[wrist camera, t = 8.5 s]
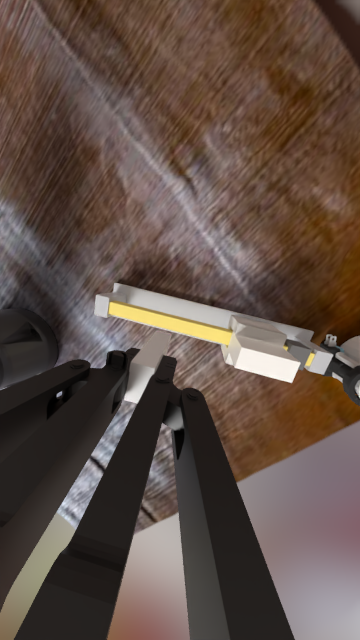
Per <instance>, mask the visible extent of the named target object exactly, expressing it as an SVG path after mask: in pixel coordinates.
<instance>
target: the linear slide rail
mask: <svg viewBox="0 0 360 640" xmlns="http://www.w3.org/2000/svg"><path fill="white" fill-rule="evenodd" d="M115 300H116V301H120V302H124V303H128V304H132V305H136V306H140V307H144V308H148V309H151V310H155V311H159V312H163V313H167V314H171V315H175V316H179V317H183V318H187V319H191V320H195V321H199V322H203V323H207V324H211V325H214V326H218V327H222V328H226V329H227V326H228V323H229V320H230V317H231V315H235V316H239V317H243V318H247V319H251V320H255V321H259V322H263V323H267V324H271V325H272V326H274V327H275V328H277V329H278V330H280V331H281V332H283V333H284V334H286V335H288V336H287V339H290V340H294V341H298V342H300V343H302V344H303V345H305V346H306V347H308V348H310V349H311V350H312V351H311V352H312V353H314V354H315V355H314V357H313V359H312V362H311V364H310V366H307V365H305V366H304V367H305V368H306V369H307V370H308V371H311V372H315V373H319V374H323V375H324V373H325V371H326V369H327V367H328V365H329V363H330V361H331V359H332V357H333V354H331V353H330V352H328V351H326V350H324V349H323V348H321V347H319V346H317V345H316V344H314V343H312V342H310V340H311V338H312V336H313V333H314V332H313V331H311V330H307V329H303V328H299V327H295V326H291V325H287V324H282V323H278V322H274V321H270V320H266V319H262V318H258V317H254V316H250V315H246V314H242V313H238V312H234V311H230V310H226V309H222V308H217V307H213V306H209V305H205V304H201V303H197V302H193V301H189V300H185V299H181V298H177V297H173V296H169V295H165V294H161V293H156V292H152V291H148V290H144V289H140V288H136V287H132V286H128V285H124V284H120V283H114V290H113V292H112V293H104V294H97V295H96V301H95V311H94V315H98V316H102V317H105V318H108V317H110V316H114V317H118V318H122V319H126V318H123V317H119V316H115V315H111V314H108V310H109V302H111V301H115ZM126 320H129V321H133V322H137V323H141V324H145V325H149V324H146V323H142V322H138V321H134V320H130V319H126ZM149 326H152V327H156V328H160V329H164V330H168V331H171V332H175V333H179V334H183V335H187V336H191V337H194V338H198V339H202V340H206V341H210V342H214V343H217V344H221V345H222V343H219V342H215V341H211V340H207V339H203V338H199V337H196V336H192V335H188V334H184V333H180V332H176V331H172V330H169V329H165V328H161V327H157V326H153V325H149Z"/></svg>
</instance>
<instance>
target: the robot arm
mask: <svg viewBox="0 0 360 640" xmlns="http://www.w3.org/2000/svg"><path fill="white" fill-rule="evenodd" d="M170 338H171V334H170V333H166V332H162V331H158V330H156V331H155V333H154V334H153V335H152V336H151V338H150V339H149V340H148V341H147V343H146V344H145V345H144V346H143V348H142V349H141V350H140V349H136V348H131V349H128V350H127V351H126V352H124V351H119V350H114V351H110V352H108V353H107V360H106V365H105V366H104V367H103V368H90V366H91V365H90V363H89V362H88V361H86V360H81V359H78V360H72V361H69V362H67V363H64V364H62V365H59V366H57V367H55V368H53V367H54V365H55V363H56V360H57V356H58V347H57V342H56V339H55V336H54V334H53V332H52V330H51V329H50V327H49V326H48V325H47V323H46V322H45V321H44V320H43V319H42V318H40V317H39V316H38V315H36V314H35V313H33V312H31V311H28V310H26V309H21V308H11V309H5V310H0V389H2V388H5V389H3V390H0V612H1V609H2V607H3V604H4V602H5V599H6V597H7V594H8V593H9V591H10V589H11V587H12V585H13V583H14V581H15V579H16V578H17V576H18V575H19V573H20V571H21V569H22V568H23V566H24V565H25V563H26V561H27V560H28V558H29V556H30V555H31V553H32V551H33V549H34V548H35V546H36V545H37V543H38V542H39V540H40V538H41V536H42V535H43V533H44V531H45V530H46V528H47V527H48V525H49V523H50V521H51V520H52V518H53V517H54V515H55V513H56V512H57V510H58V508H59V507H60V505H61V503H62V502H63V500H64V499H65V497H66V495H67V494H68V492H69V490H70V489H71V487H72V485H73V484H74V482H75V480H76V479H77V477H78V475H79V474H80V472H81V470H82V469H83V467H84V465H85V464H86V462H87V461H88V459H89V457H90V456H91V454H92V452H93V451H94V449H95V447H96V446H97V444H98V442H99V441H100V439H101V437H102V436H103V434H104V432H105V431H106V429H107V427H108V426H109V424H110V423H111V421H112V419H113V418H114V416H115V414H116V413H117V411H118V409H119V408H120V406H121V403H122V398H123V396H124V395H125V399H124V400H127V401H130V402H134V403H138V404H137V406H136V408H135V410H134V412H133V414H132V416H131V418H130V420H129V422H128V425H127V427H126V429H125V431H124V433H123V435H122V437H121V439H120V441H119V443H118V445H117V447H116V449H115V451H114V453H113V455H112V457H111V459H110V461H109V463H108V466H107V468H106V470H105V472H104V474H103V476H102V478H101V480H100V482H99V484H98V486H97V488H96V490H95V492H94V494H93V496H92V498H91V500H90V502H89V505H88V507H87V509H86V511H85V513H84V515H83V517H82V519H81V521H80V523H79V525H78V527H77V529H76V531H75V533H74V535H73V537H72V539H71V541H70V543H69V544H68V546H67V547H66V548H65V549H64V550H63V551H62V552H61V553H60V554H59V556H58V557H57V559H56V560H55V562H54V564H53V565H52V567H51V569H50V571H49V573H48V574H47V576H46V578H45V580H44V582H43V584H42V586H41V587H40V589H39V591H38V593H37V595H36V597H35V599H34V601H33V603H32V605H31V607H30V609H29V611H28V613H27V615H26V617H25V619H24V621H23V623H22V625H21V627H20V628H19V630H18V632H17V634H16V637H15V638H14V640H107V638H108V634H109V629H110V625H111V622H112V618H113V614H114V610H115V606H116V602H117V597H118V594H119V590H120V586H121V582H122V578H123V574H124V570H125V567H126V563H127V558H128V555H129V550H130V547H131V543H132V539H133V535H134V531H135V527H136V523H137V519H138V515H139V511H140V507H141V503H142V499H143V495H144V491H145V488H146V484H147V480H148V476H149V472H150V468H151V464H152V460H153V456H154V452H155V448H156V444H157V440H158V436H159V432H160V428H161V424H162V423H164V424H165V425H167V426H169V427H170V428H172V431H171V433H172V444H173V455H174V466H175V477H176V488H177V499H178V510H179V521H180V532H181V543H182V554H183V565H184V575H185V586H186V598H187V609H188V621H189V630H190V631H189V632H190V640H295V639H294V636H293V634H292V631H291V629H290V626H289V623H288V620H287V618H286V615H285V612H284V610H283V607H282V604H281V602H280V599H279V597H278V594H277V591H276V588H275V586H274V583H273V580H272V578H271V575H270V572H269V570H268V567H267V564H266V561H265V559H264V556H263V553H262V551H261V548H260V545H259V543H258V540H257V537H256V535H255V532H254V530H253V527H252V524H251V521H250V518H249V516H248V513H247V510H246V508H245V505H244V502H243V500H242V497H241V494H240V492H239V489H238V487H237V484H236V481H235V478H234V476H233V473H232V470H231V468H230V465H229V462H228V460H227V457H226V454H225V451H224V449H223V446H222V443H221V441H220V438H219V435H218V433H217V430H216V427H215V425H214V422H213V419H212V417H211V414H210V411H209V409H208V406H207V403H206V401H205V398H204V396H203V394H202V393H201V392H200V391H198V390H196V389H194V388H185V389H183V390H180V389H178V388H177V387H176V386H175V385H174V384H173V376H174V372H175V368H176V364H177V361H176V358H173V357H169V356H167V352H168V347H169V343H170ZM6 387H7V388H6ZM61 391H62V395H61V396H60V397H56V395H57V393H59V392H61Z"/></svg>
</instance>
